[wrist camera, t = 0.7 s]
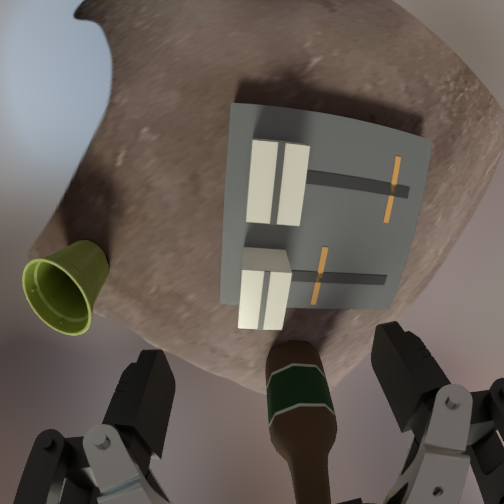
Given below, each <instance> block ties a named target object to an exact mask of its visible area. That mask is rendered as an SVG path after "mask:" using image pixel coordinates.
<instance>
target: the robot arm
mask: <svg viewBox="0 0 504 504" xmlns="http://www.w3.org/2000/svg"><path fill="white" fill-rule="evenodd" d="M371 363H372V367H373V370H374V372H375V374H376V376H377V378H378V381H379V383H380V384H381V387H382V389H383V391H384V394H385V396H386V398H387V400H388V402H389V405H390V407H391V409H392V411H393V413H394V416H395V418H396V421H397V423H398V425H399V428H400V430H401V432H402V433H403V432H406V431H408V430H411V429H412V431H413V433H414V436H413V438H412V440H411V443H410V446H409V449H408V452H407V454H406V457H405V460H404V462H403V465H402V467H401V470H400V472H399V474H398V477H397V479H396V481H395V483H394V484H393V486H392V487H391V489H390V491H389V492H388V494H387V496H386V498H385V500H384V502H383V504H459V501H460V498H461V495H462V492H463V488H464V485H465V481H466V477H467V473H468V469H469V465H470V464H471V467H472V469H473V472H474V474H475V477H476V480H477V483H478V486H479V489H480V492H481V494H482V497H483V501H484V504H504V447H503V445H502V442H501V440H500V438H499V436H498V434H497V432H496V431H497V429H498V431H499V433H500V435H501V437H502V439H503V441H504V378H500V379H497V380H496V381H495V382H494V383H493V384H492V386H491V387H490V389H489V390H485V391H478V392H469V391H468V390H467V389H466V388H465V387H463V386H461V385H457V384H451V383H450V381H449V380H448V378H447V377H446V375H445V374H444V372H443V371H442V369H441V368H440V366H439V365H438V363H437V362H436V360H435V359H434V357H432V356H431V353H430V352H429V350H428V349H426V346H425V345H424V343H423V342H422V341H421V339H420V338H419V337H417V336H416V335H414V334H413V333H412V332H410V331H407V332H404V330H403V329H402V328H401V326H400V325H399V323H398V322H397V321H393V322H388V323H384V324H379V325H377V326H376V330H375V336H374V341H373V347H372V352H371ZM174 394H175V379H174V376H173V373H172V371H171V369H170V366H169V364H168V361H167V359H166V356H165V354H164V352H163V351H162V350H142V351H141V353H140V355H139V358H138V360H137V362H136V363H131V364H130V365H129V366H128V367H127V368H126V369H125V370H124V372H123V373H122V375H121V377H120V380H119V384H118V385H117V387H116V389H115V393H114V394H113V397H112V399H111V402H110V404H109V407H108V409H107V412H106V414H105V417H104V420H103V422H102V424H101V425H97V426H94V427H92V428H91V429H89V430H88V431H87V433H86V434H85V436H83V437H72V438H64V437H63V435H62V434H61V433H60V432H58V431H57V430H54V429H48V430H45V431H43V432H41V433H40V434H39V435H38V436H37V438H36V440H35V442H34V445H33V447H32V450H31V452H30V455H29V458H28V460H27V463H26V466H25V469H24V471H23V474H22V477H21V480H20V483H19V486H18V490H17V493H16V496H15V500H14V503H13V504H59V496H60V492H61V489H62V485H63V481H64V478H66V482H65V485H64V489H63V493H62V497H61V501H60V504H174V503H173V502H172V501H171V499H170V498H169V496H168V495H167V493H166V492H165V491H164V489H163V488H162V486H161V485H160V483H159V481H158V480H157V478H156V477H155V475H154V473H153V472H152V470H151V469H150V467H149V463H150V459H157V460H161V457H162V452H163V447H164V441H165V436H166V432H167V426H168V422H169V417H170V413H171V408H172V403H173V399H174ZM100 492H101V495H100ZM338 504H374V503H362V500H361V498H358V499H354V500H350V501H346V502H342V503H338Z"/></svg>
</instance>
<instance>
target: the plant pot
mask: <svg viewBox="0 0 504 504" xmlns="http://www.w3.org/2000/svg"><path fill="white" fill-rule="evenodd" d="M108 273H109V265H108V263H107V260H106V255H105V253H104V252H103V251H102V249H101V248H100V247H99V246H98V245H96V244H95V243H93V242H91V241H88V240H80V241H76V242H75V243H73V244H71V245H69V246H67V247H65V248H64V249H62V250H60V251H58V252H56V253H54V254H53V255H51V256H47V257H44V258H35V259H33V260H31V261H30V262H29V263H28V264H27V265H26V266H25V268H24V271H23V277H22V280H23V289H24V292H25V295H26V298H27V300H28V302H29V303H30V305H31V307H32V309H33V310H34V311H35V313H36V314H37V315H38V316H39V318H41V319H42V320H43V321H44V322H45V323H46V324H47V325H49V326H50V327H51V328H53V329H54V330H56V331H59V332H61V333H63V334H67V335H73V336H74V335H80V334H83V333H84V332H86V331H87V330H88V328H89V327H90V325H91V322H92V311H93V305H94V303H95V301H96V298H97V296H98V294H99V292H100V290H101V288H102V286H103V284H104V282H105V280H106V278H107V276H108Z"/></svg>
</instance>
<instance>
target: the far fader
mask: <svg viewBox="0 0 504 504" xmlns="http://www.w3.org/2000/svg"><path fill="white" fill-rule="evenodd" d="M291 277H292V271H291V267H290V264H289V260H288V257H287V253H286V250H280V249H266V248H252V247H243V255H242V268H241V282H240V295H239V316H238V328H246V329H257V330H259V331H263V329H266V330H282V327H283V322H284V316H285V311H286V305H287V300H288V294H289V288H290V283H291Z"/></svg>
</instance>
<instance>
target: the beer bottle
mask: <svg viewBox="0 0 504 504" xmlns="http://www.w3.org/2000/svg"><path fill="white" fill-rule="evenodd" d="M266 389H267V404H268V420H269V431H270V437H271V441H272V443H273V445H274V447H275V449H276V451H277V452H278V453H279V454H280V455H281V456H282V457H283V458H284V459H285V460H286V461H287V463H288V466H289V469H290V472H291V475H292V481H293V487H294V493H295V498H296V504H331V498H330V487H329V476H328V454H329V452H330V450H331V448H332V446H333V444H334V442H335V438H336V433H337V422H336V416H335V412H334V408H333V404H332V400H331V396H330V392H329V388H328V384H327V380H326V376H325V373H324V369H323V365H322V362H321V359H320V356H319V354H318V353H317V352H316V351H315V349H314V348H313V347H312V346H311V344H310V343H309V342H299V341H287V342H285V343H283V344H281V345H279V346H277V347H275V348H273V349H271V351H270V353H269V356H268V359H267V362H266Z"/></svg>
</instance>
